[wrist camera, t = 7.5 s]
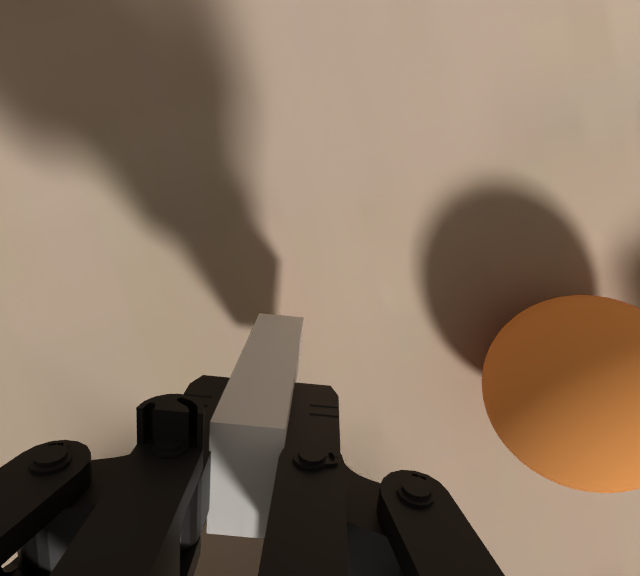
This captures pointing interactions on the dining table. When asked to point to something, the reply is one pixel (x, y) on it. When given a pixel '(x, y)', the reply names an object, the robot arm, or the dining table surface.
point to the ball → (570, 391)
